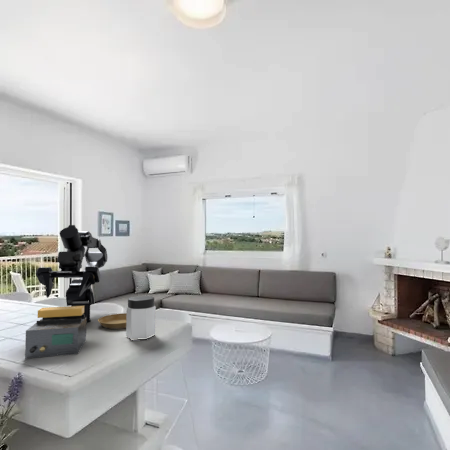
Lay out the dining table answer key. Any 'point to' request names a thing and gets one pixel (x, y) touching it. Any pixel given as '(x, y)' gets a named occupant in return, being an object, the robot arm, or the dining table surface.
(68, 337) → the box
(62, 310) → the key
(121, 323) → the plant saucer
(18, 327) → the dining table surface
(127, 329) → the jar
